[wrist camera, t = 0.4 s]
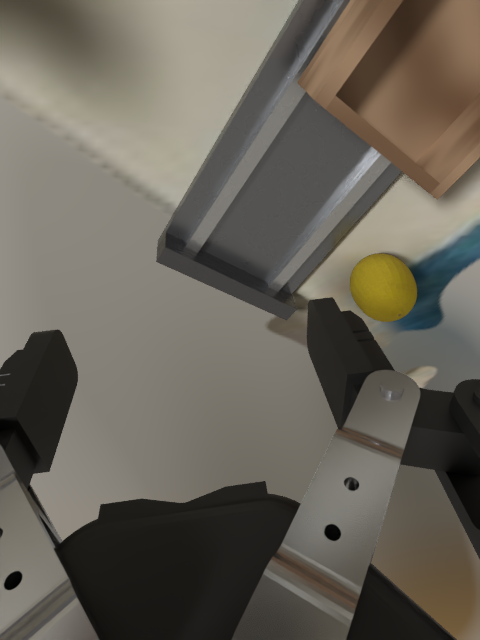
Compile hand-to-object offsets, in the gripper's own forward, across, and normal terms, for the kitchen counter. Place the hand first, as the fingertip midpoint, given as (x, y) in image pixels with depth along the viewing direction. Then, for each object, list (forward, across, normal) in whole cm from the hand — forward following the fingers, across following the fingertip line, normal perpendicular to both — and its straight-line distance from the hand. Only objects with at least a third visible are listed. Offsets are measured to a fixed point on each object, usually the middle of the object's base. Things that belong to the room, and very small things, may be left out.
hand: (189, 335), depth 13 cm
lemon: (+24, -16, +11) cm, 31 cm away
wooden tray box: (+19, -15, -7) cm, 25 cm away
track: (+22, -10, 0) cm, 24 cm away
